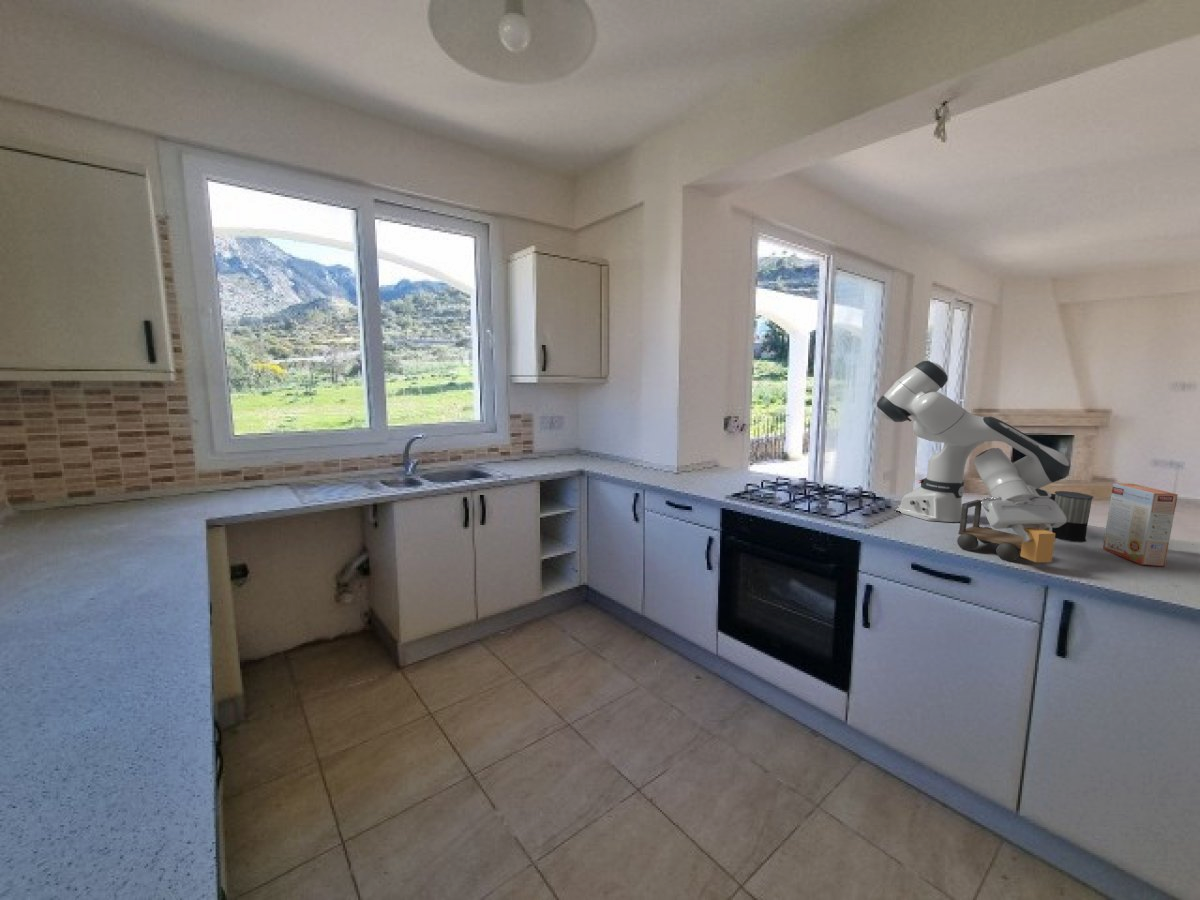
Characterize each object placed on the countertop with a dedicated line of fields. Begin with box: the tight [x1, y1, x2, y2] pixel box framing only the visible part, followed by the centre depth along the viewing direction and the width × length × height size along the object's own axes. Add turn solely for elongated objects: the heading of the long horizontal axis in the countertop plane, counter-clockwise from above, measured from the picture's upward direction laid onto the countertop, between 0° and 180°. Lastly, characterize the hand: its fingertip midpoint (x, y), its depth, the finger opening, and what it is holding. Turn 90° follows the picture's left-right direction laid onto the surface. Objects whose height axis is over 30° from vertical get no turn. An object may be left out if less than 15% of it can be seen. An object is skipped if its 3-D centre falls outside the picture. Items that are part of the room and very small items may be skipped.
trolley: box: [956, 499, 1022, 562], centre depth 148 cm, size 16×14×14 cm
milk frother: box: [1023, 490, 1094, 543], centre depth 161 cm, size 14×16×15 cm
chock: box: [1019, 528, 1056, 563], centre depth 135 cm, size 5×5×8 cm
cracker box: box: [1102, 482, 1179, 567], centre depth 143 cm, size 14×6×21 cm, turn 168°
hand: (1040, 541), depth 135 cm, fingers closed on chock, 4 cm apart
